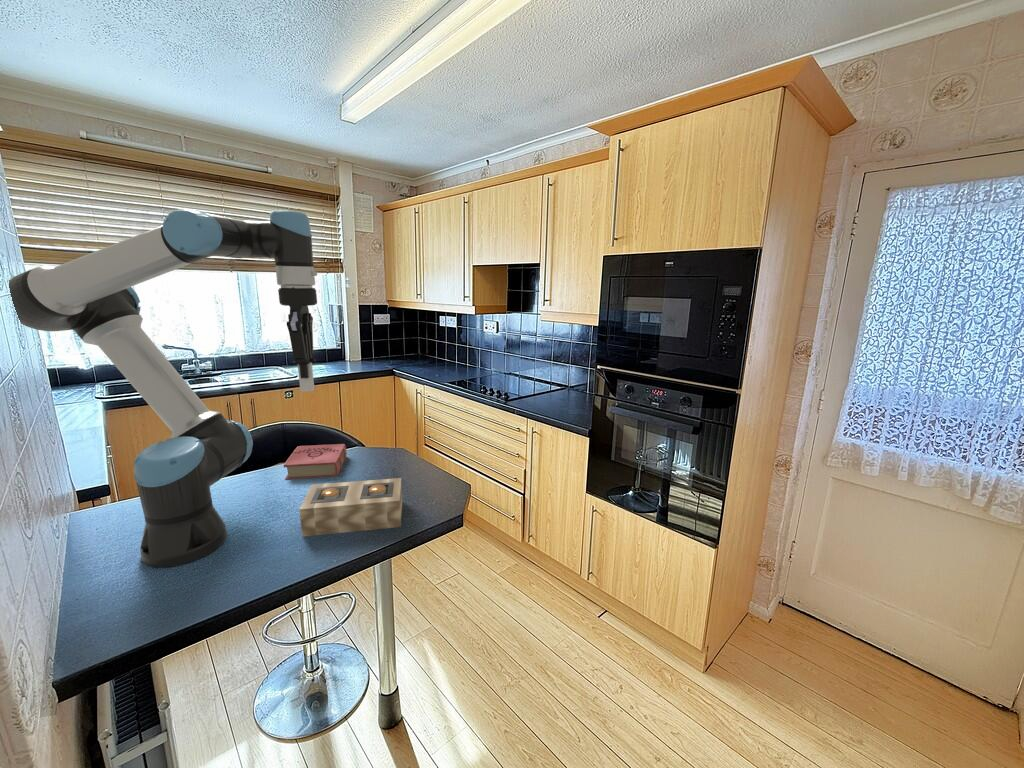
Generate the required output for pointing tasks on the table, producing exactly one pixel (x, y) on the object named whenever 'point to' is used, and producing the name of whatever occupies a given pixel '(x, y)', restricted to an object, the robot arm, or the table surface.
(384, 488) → the peg right
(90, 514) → the table surface
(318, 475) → the book
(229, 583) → the table surface
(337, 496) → the peg left
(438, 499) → the table surface
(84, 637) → the table surface
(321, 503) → the block
